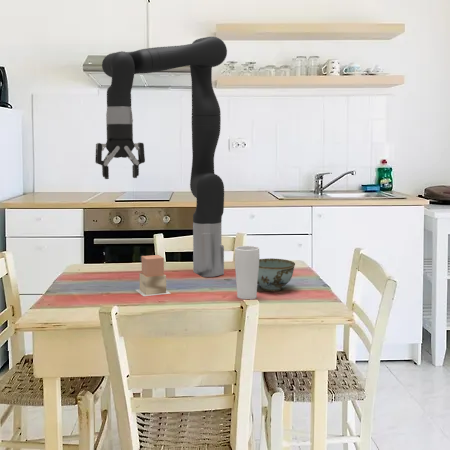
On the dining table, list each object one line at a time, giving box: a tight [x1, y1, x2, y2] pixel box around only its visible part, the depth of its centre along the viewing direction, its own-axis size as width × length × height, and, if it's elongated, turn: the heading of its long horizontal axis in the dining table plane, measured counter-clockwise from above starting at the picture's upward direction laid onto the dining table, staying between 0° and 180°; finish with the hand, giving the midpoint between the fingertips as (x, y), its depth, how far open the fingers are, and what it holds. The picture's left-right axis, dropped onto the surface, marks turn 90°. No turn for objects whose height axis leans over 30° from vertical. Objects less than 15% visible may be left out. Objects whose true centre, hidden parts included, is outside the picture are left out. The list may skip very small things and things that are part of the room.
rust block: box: [140, 254, 165, 277], centre depth 190 cm, size 5×5×5 cm
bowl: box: [257, 258, 296, 292], centre depth 199 cm, size 14×13×8 cm
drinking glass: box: [234, 245, 260, 300], centre depth 184 cm, size 7×7×15 cm
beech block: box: [139, 272, 167, 295], centre depth 190 cm, size 6×6×5 cm
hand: (120, 178), depth 197 cm, fingers open, 8 cm apart
